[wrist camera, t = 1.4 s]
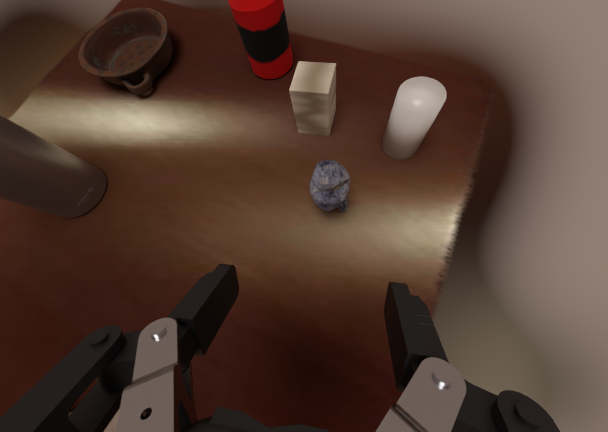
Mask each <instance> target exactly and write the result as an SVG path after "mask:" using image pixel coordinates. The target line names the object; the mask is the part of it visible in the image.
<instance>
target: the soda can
mask: <svg viewBox="0 0 608 432" xmlns="http://www.w3.org/2000/svg"><path fill="white" fill-rule="evenodd" d="M228 2H229V5H230V8H231V10H232V13H233V16H234V19H235V22H236V24H237V27H238V30H239V33H240V36H241V38H242V41H243V44H244V47H245V50H246V52H247V55H248V58H249V61H250V63H251V66H252V69H253V71H254V73H255V74H256V75H257V76H259V77H261V78H263V79H276V78H279V77H281V76H283V75H284V74H286V73H287V72H288V71H289V69H290V68H291V66H292V63H293V57H292V51H291V45H290V39H289V33H288V28H287V22H286V16H285V10H284V5H283V0H228Z"/></svg>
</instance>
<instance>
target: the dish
mask: <svg viewBox="0 0 608 432" xmlns="http://www.w3.org/2000/svg"><path fill="white" fill-rule="evenodd" d="M167 30H168V27H167V22H166V20H165V18H164V17H163V15H161V14H160V13H159V12H157V11H155V10H153V9H150V8H135V9H129V10H123V11H121V12H118V13H116V14H114V15H112V16H110V17H109V18H107V19H106V20H104V21H102V22H101V23H100V24H99V25H98V26H96V27H95V28H94V29H93V30H92V31H91V32H90V33H89V34H88V35H87V37H86V38H85V40H84V41H83V43H82V45H81V48H80V50H79V61H80V63H81V66H82V67H83V68H84V69H85V70H86V71H87V72H89V73H91V74H93V75H97V76H99V77H101V78H103V79H105V80H106V81H109V82H111V83H113V84H116V85H120V86H126V87H127V88H128V89H129V90H130V91H131V92H132V93H134V94H137V95H141V94H145V93H146V92H148V91H149V90H150V89H151V87H152V83H153V79H154V78H156V77H157V76H158V75H159V74H161V73H162V72H163V71H164V70H165V68H166V67H167V66H168V64H169V62H170V60H171V57H172V52H173V47H172V42H171V39H170V36H169V33H168V31H167Z"/></svg>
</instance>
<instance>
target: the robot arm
mask: <svg viewBox="0 0 608 432" xmlns="http://www.w3.org/2000/svg"><path fill="white" fill-rule="evenodd" d="M106 184H107V183H106V176H105V174H104V173H103V171H102V170H100V169H99V168H97V167H95V166H93V165H91V164H90V163H88V162H86V161H84V160H82V159H80V158H78V157H77V156H75V155H73V154H71V153H69V152H67V151H66V150H64V149H62V148H60V147H58V146H56V145H54V144H53V143H51V142H49V141H47V140H45V139H43V138H41V137H40V136H38V135H36V134H34V133H32V132H30V131H28V130H26V129H25V128H23V127H21V126H19V125H17V124H15V123H13V122H12V121H10V120H8V119H6V118H4V117H2V116H0V198H1V199H4V200H8V201H11V202H14V203H18V204H21V205H25V206H28V207H32V208H35V209H38V210H42V211H45V212H49V213H52V214H55V215H59V216H62V217H67V218H74V217H78V216H81V215H83V214H85V213H87V212H88V211H90V210H91V209H92V208H93V207H95V206H96V205H97V203H98V202H99V201H100V200H101V198H102V196H103V194H104V192H105V189H106ZM238 293H239V285H238V279H237V273H236V268H235V266H234V265H226V264H219V265H218V266H217V267H216V269H215V270H214V271H213V272H212V273H210V272H209V273H208V274H206V275H205V276H203V277H202V278H200V279H199V280H198V282H197V283H196V284H195V285H194V287H192V289H191V290H190V291H189V293H188V294H187V295H186V296H185V297H184V298H183V299H182V300H181V302H180V303H179V304H178V305H177V306H176V307H175V309H174V310H173V311H172V312H171V313H170V315H169V316H168V317H167V318H162V319H158V320H156V321H154V322H152V323H151V324H149V325H148V326H147V327H145V328H144V330H142V331H135V332H129V333H123V332H122V331H121V329H120V327H119V326H117V325H108V326H105V327H102V328H99V329H97V330H95V331H94V332H92V333H90V334H89V335H88V336H87V337H85V338H84V339H83V340H82V341H81V342H80V343H79V344H78V345H77V346H76V347H75V348H74V349H73V350H72V351H70V352H69V353H68V354H67V355H66V356H65V357H64V358H63V359H62V360H61V361H60V362H59V363H58V364H57V365H56V366H55V367H54V368H52V369H51V370H50V371H49V372H48V373H47V374H46V375H45V376H44V377H43V378H42V379H41V380H40V381H39V382H38V383H37V384H35V385H34V386H33V387H32V388H31V389H30V390H29V391H28V392H27V393H26V394H25V395H24V396H23V397H22V398H21V399H20V400H19V401H17V402H16V403H15V404H14V405H13V406H12V407H11V408H10V409H9V410H8V411H7V412H6V413H5V414H4V415H3V416H2V417H1V418H0V432H104V430H105V429H106V427H107V426H108V425H109V423H110V422H111V420H112V419H113V417H114V416H115V414H116V413H117V412H118V410H119V409H120V410H119V416H118V422H117V428H116V432H329V430H325V429H320V428H316V427H311V426H306V425H301V424H298V425H289V426H281V427H273V428H269V427H266V426H264V425H263V424H261V423H260V422H258V421H256V420H255V419H253V418H251V417H250V416H248V415H247V414H245V413H243V412H240V411H235V410H230V409H226V408H221V407H217V408H216V410H215V412H214V415H213V416H212V417H208V418H204V419H201V420H199V421H198V420H197V415H196V410H195V404H194V392H193V378H192V365H191V360H192V358H193V356H194V355H195V354H196V355H201V356H204V355H205V353H206V351H207V349H208V348H209V346H210V344H211V342H212V341H213V339H214V337H215V335H216V334H217V332H218V330H219V328H220V327H221V325H222V323H223V321H224V320H225V318H226V316H227V314H228V313H229V311H230V309H231V308H232V306H233V304H234V302H235V301H236V299H237V296H238ZM384 316H385V323H386V329H387V334H388V340H389V346H390V352H391V358H392V364H393V370H394V376H395V381H396V387H397V391H402V392H403V394H402V395H401V397H400V398H399V400H398V402H397V403H396V404H395V405H393V406H392V407H391V408H390V410H389V411H388V413H387V414H386V416H385V417H384V419H383V421H382V422H381V424H380V426H379V427H378V429H377V430H376V432H560V431H559V429H558V427H557V426H556V424H555V422H554V421H553V419H552V418H551V417H550V416H549V414H548V413H547V412H546V411H545V410H544V409H543V408H542V407H541V406H540V405H539V404H537V403H536V402H535V401H533V400H532V399H530V398H529V397H527V396H525V395H523V394H521V393H519V392H515V391H510V390H506V391H502V392H501V393H500V394H499V395H498V396H497V395H495V394H492V393H490V392H488V391H486V390H484V389H481V388H479V387H477V386H475V385H473V384H471V383H469V382H467V381H466V380H464V379H463V377H462V376H461V374H460V373H459V372H458V371H457V369H456V368H454V367H453V366H452V365H451V364H450V363H449V362H448V360H447V357H446V355H445V352H444V349H443V347H442V345H441V342H440V339H439V336H438V334H437V332H436V329H435V326H434V324H433V321H432V318H431V317H430V313H429V311H428V308H427V306H426V304H425V303H424V302H423V301H422V300H421V299H420V298H419V296H413V295H410V292H409V289H408V286H407V284H406V283H396V282H389V285H388V290H387V295H386V300H385V307H384ZM95 378H96V379H97V381H98V382H97V383H96V384H95V385H94V387H93V388H92V389H91V390H90V391H89V393H88V394H87V395H86V396H85V397H84V398H83V400H82V401H81V402H80V403H79V404H78V406H77V407H76V408H75V409H74V410H73V411H72V413H71V414H70V415H69V411H70V409H71V407H72V406H73V404H74V403H75V401H76V400H77V399H78V398H79V397H80V396H81V395H82V393H83V392H84V391H85V390H86V389H87V388H88V386H89V385H90V384H91V383H92V382H93V381H94V380H95ZM68 415H69V416H68Z"/></svg>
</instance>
